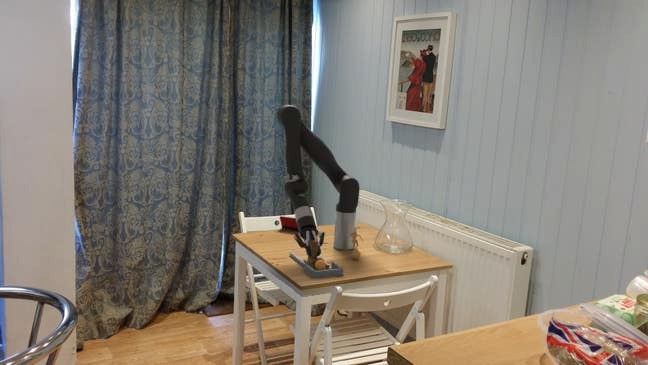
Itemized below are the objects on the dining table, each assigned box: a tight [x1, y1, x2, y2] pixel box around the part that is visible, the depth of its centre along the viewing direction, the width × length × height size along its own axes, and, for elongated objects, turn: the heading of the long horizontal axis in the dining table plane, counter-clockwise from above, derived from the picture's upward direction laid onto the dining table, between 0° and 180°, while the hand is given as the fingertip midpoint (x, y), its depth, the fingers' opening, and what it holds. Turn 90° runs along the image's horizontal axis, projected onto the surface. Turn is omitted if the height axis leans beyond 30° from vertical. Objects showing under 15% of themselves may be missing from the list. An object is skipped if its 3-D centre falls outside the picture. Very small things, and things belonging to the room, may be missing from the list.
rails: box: [289, 251, 330, 270], centre depth 238 cm, size 10×20×2 cm, turn 24°
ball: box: [315, 260, 327, 271], centre depth 228 cm, size 4×4×4 cm
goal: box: [303, 260, 344, 279], centre depth 225 cm, size 13×8×3 cm, turn 114°
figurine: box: [347, 231, 364, 261], centre depth 245 cm, size 8×6×12 cm
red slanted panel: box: [279, 215, 299, 232], centre depth 289 cm, size 12×11×7 cm
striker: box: [302, 240, 325, 269], centre depth 233 cm, size 6×8×10 cm
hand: (314, 255), depth 233 cm, fingers closed on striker, 3 cm apart
